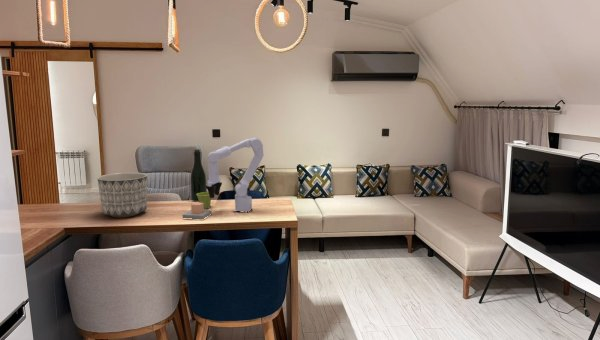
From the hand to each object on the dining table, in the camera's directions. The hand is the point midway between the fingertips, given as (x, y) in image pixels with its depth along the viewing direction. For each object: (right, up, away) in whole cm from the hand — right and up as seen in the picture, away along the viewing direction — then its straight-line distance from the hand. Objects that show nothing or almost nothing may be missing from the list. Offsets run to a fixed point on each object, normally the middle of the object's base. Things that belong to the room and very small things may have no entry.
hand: (214, 196), depth 253 cm
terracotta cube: (-8, -8, -9) cm, 14 cm away
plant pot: (-8, -8, +12) cm, 17 cm away
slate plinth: (-8, -11, -8) cm, 16 cm away
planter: (-51, -10, -2) cm, 52 cm away
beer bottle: (-16, -4, +33) cm, 37 cm away
